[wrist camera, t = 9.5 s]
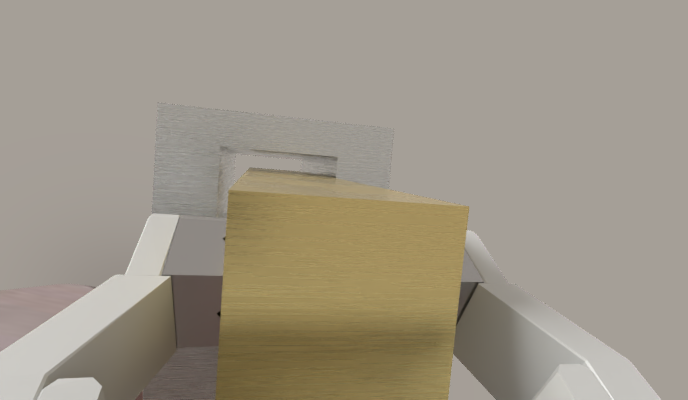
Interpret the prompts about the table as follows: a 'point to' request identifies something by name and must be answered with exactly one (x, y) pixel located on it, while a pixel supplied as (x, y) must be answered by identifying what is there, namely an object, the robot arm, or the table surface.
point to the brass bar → (337, 290)
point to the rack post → (218, 177)
